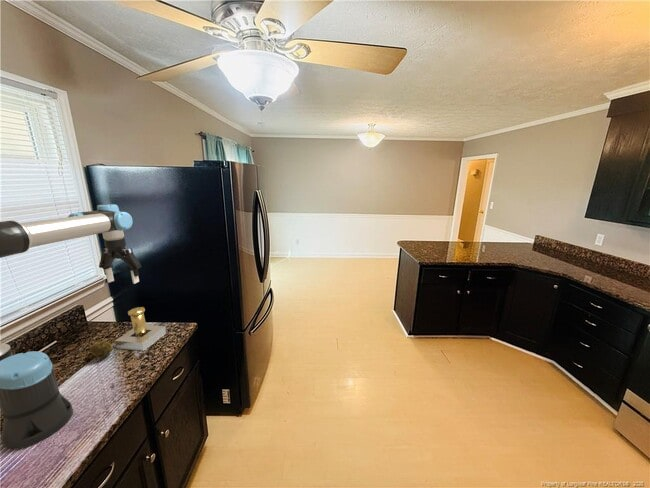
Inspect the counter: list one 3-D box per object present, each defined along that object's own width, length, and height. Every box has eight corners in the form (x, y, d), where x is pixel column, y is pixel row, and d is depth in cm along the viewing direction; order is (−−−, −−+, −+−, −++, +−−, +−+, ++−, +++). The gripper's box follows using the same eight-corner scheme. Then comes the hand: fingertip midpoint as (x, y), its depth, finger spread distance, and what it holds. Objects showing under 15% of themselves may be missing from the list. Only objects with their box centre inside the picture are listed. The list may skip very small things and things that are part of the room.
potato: (118, 345, 123) (114, 329, 121) (112, 360, 112) (108, 344, 110) (95, 350, 119) (91, 334, 118) (86, 367, 108) (82, 350, 107)
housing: (143, 350, 119) (142, 342, 118) (116, 348, 121) (114, 340, 120) (166, 333, 132) (164, 326, 131) (141, 331, 134) (139, 324, 133)
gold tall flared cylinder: (143, 345, 123) (136, 314, 119) (130, 344, 124) (124, 313, 120) (153, 337, 129) (147, 307, 125) (141, 336, 130) (135, 306, 126)
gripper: (145, 237, 122) (153, 280, 127) (98, 236, 125) (108, 278, 130) (131, 240, 115) (140, 286, 120) (82, 239, 118) (93, 284, 123)
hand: (123, 282), depth 125 cm, fingers open, 13 cm apart
